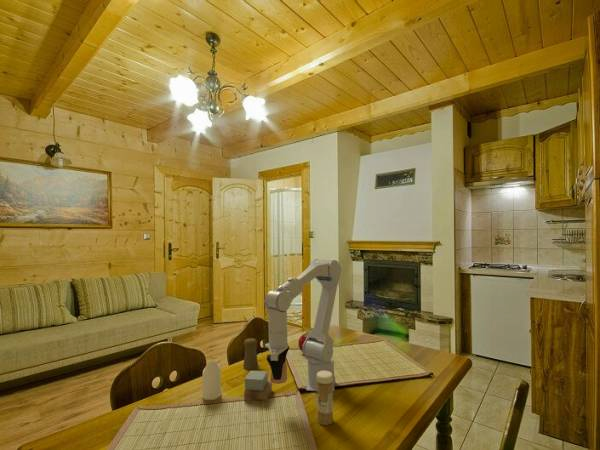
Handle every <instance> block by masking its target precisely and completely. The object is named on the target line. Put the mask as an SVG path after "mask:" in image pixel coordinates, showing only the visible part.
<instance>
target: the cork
mask: <svg viewBox="0 0 600 450" xmlns="http://www.w3.org/2000/svg"><path fill="white" fill-rule="evenodd" d="M257 344H258V342H257V339H255V338H252V337H251V338H250V337H249V338H246V339H245V340H244V342H243V346H244V348H245V350H244V357H243V358H244V359H243V366H242V367H243V369H244V370H246V371H254V370H256V369H258V368H259V361H258V360H259V359H258V355H257Z"/></svg>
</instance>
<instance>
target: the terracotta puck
mask: <svg viewBox="0 0 600 450" xmlns="http://www.w3.org/2000/svg"><path fill="white" fill-rule="evenodd" d="M270 381H271V382H272V384H277V385H279V384H284V383H286V382H287V381H288V363H287V362H286V361H285V362H284V363H283V369H282V376H281V380H274V379H273V375H272V371H271V370H270Z"/></svg>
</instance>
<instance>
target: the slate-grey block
mask: <svg viewBox="0 0 600 450" xmlns="http://www.w3.org/2000/svg"><path fill="white" fill-rule="evenodd" d="M268 376H269V375H268V371H266V370H249V372H248V374H247V375H246V376H245V377H244V391H245V390H258V391H263V390H264V388H265V386H266V384H267V382H268V381H269V380H268Z"/></svg>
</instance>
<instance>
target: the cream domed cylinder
mask: <svg viewBox="0 0 600 450" xmlns="http://www.w3.org/2000/svg"><path fill="white" fill-rule="evenodd" d="M201 379H202V383H201V384H202V385H201V386H202V399H203V400H205V401H214V400H216V399H218V398H219V397H221V395H222V385H221V384H222V383H221V381H222V369H221V366H220V365H219V364H218V362H216V361H215V360H213V361H212V360H209V361H207V362H206V365H205V367H204V368H203V370H202V378H201Z"/></svg>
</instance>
